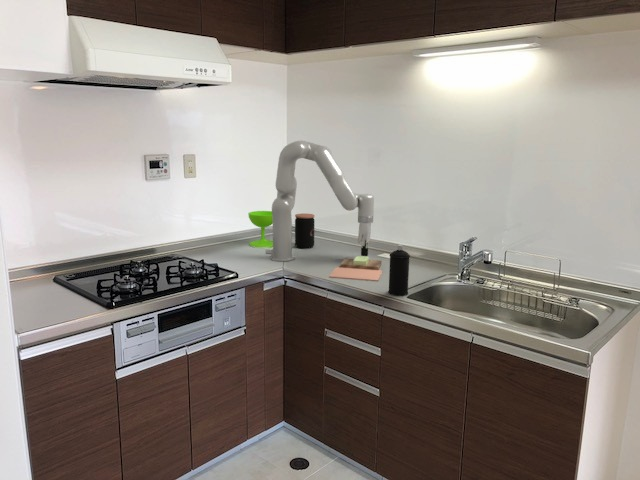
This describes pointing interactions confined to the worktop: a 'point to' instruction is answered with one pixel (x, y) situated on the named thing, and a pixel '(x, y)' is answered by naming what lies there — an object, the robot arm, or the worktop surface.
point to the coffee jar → (304, 231)
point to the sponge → (360, 260)
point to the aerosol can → (399, 272)
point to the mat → (356, 274)
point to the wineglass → (262, 221)
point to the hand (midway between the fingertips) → (364, 255)
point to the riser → (370, 265)
